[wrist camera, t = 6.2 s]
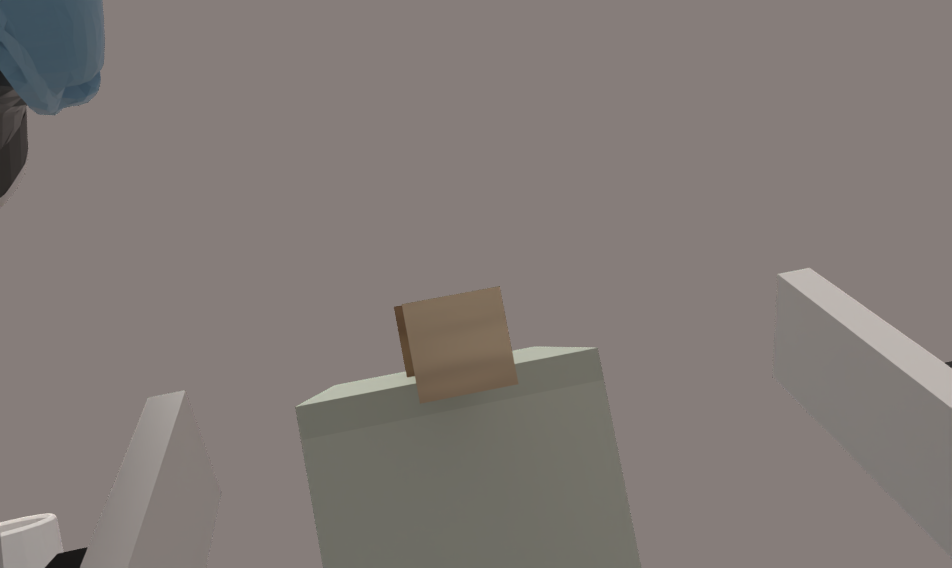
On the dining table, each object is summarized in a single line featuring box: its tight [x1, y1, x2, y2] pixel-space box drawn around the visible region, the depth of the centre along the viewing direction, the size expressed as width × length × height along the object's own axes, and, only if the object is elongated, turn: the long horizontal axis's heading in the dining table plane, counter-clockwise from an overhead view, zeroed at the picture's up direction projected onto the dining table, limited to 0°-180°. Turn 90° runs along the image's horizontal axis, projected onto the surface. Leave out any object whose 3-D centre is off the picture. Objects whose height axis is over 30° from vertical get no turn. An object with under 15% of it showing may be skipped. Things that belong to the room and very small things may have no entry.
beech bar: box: [394, 286, 518, 404], centre depth 35 cm, size 24×4×4 cm, turn 5°
